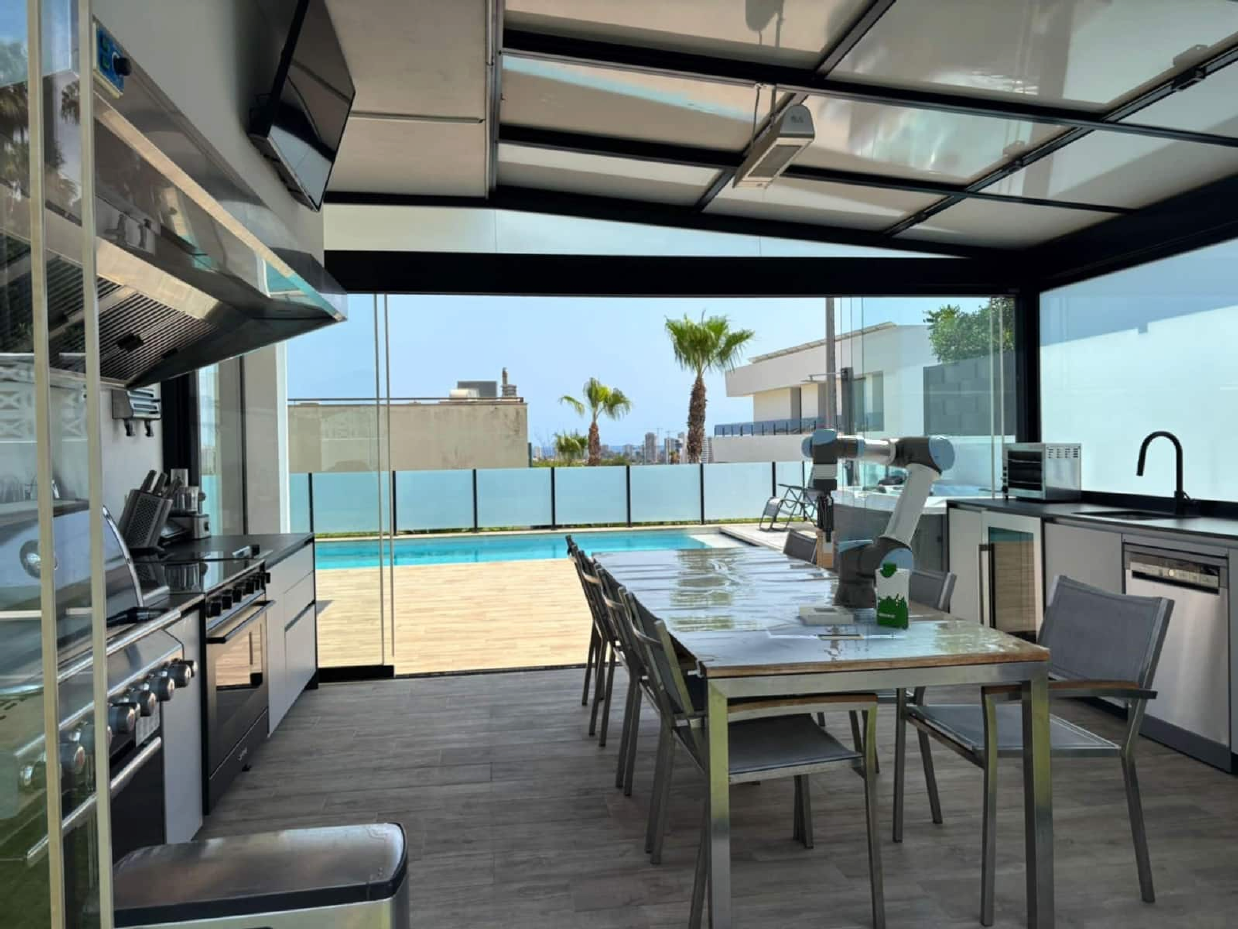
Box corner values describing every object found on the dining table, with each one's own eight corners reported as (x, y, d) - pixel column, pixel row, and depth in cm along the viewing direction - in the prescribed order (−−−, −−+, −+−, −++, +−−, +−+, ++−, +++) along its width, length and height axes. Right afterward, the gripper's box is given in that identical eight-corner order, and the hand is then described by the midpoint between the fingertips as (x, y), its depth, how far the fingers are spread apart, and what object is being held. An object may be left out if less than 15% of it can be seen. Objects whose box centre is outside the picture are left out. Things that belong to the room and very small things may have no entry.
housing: (842, 618, 270) (842, 606, 270) (853, 627, 256) (853, 614, 256) (799, 618, 271) (799, 606, 271) (807, 627, 257) (807, 615, 257)
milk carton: (872, 628, 256) (872, 563, 255) (885, 623, 262) (885, 559, 262) (900, 632, 250) (900, 565, 249) (913, 627, 256) (912, 562, 256)
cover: (832, 565, 266) (832, 530, 266) (837, 568, 260) (837, 532, 260) (814, 565, 266) (813, 531, 266) (817, 568, 260) (817, 533, 260)
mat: (853, 630, 252) (853, 629, 252) (863, 640, 240) (863, 638, 240) (813, 630, 253) (813, 629, 253) (821, 640, 241) (821, 638, 241)
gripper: (807, 477, 272) (807, 547, 273) (819, 479, 253) (819, 555, 254) (830, 476, 272) (830, 547, 272) (844, 479, 253) (844, 555, 253)
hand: (825, 551), depth 263 cm, fingers closed on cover, 6 cm apart
